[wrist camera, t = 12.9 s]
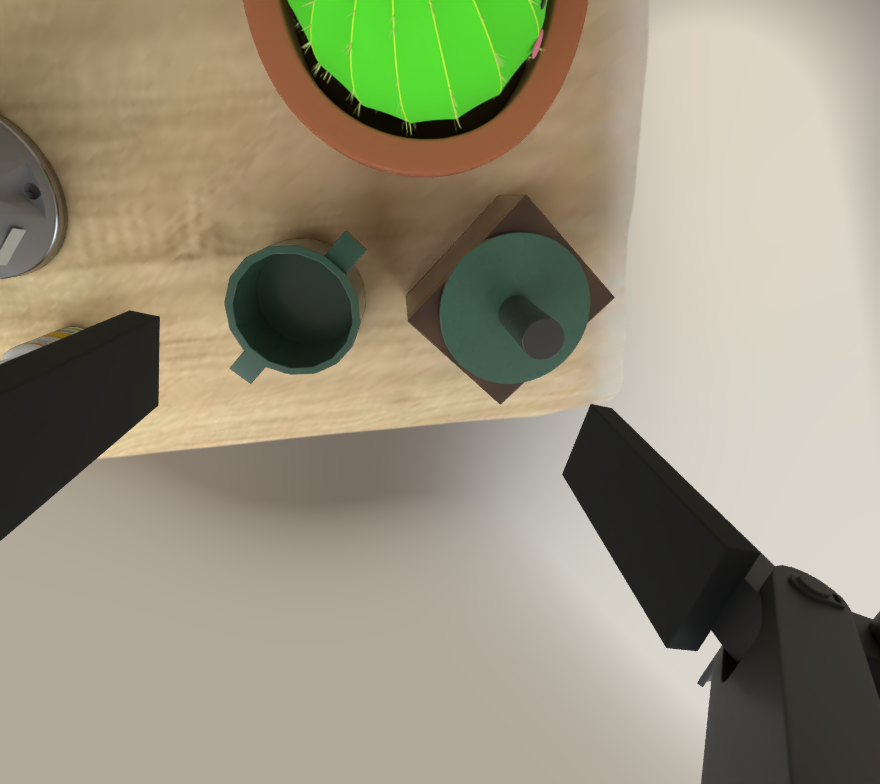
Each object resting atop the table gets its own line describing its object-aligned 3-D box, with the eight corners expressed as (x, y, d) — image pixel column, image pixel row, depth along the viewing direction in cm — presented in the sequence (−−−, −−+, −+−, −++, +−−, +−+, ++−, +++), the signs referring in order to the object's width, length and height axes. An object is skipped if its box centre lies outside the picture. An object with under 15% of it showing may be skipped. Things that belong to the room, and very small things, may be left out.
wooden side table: (405, 296, 49) (407, 321, 39) (498, 195, 46) (526, 194, 36) (481, 366, 53) (500, 405, 43) (571, 277, 50) (615, 297, 40)
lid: (407, 313, 39) (409, 345, 30) (517, 195, 36) (554, 193, 27) (507, 405, 43) (534, 455, 34) (614, 306, 40) (672, 334, 32)
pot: (214, 317, 48) (181, 338, 41) (315, 191, 44) (299, 189, 37) (304, 385, 52) (289, 416, 45) (404, 275, 48) (405, 288, 41)
